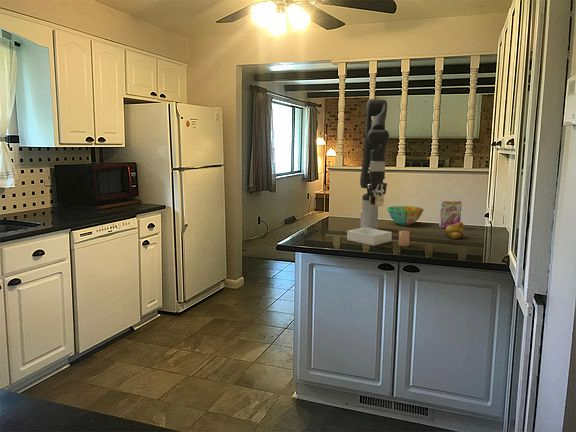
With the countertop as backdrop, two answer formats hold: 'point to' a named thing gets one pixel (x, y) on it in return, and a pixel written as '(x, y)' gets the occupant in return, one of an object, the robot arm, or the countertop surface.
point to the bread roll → (455, 230)
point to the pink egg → (403, 238)
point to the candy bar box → (449, 213)
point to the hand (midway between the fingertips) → (376, 203)
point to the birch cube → (377, 201)
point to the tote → (369, 236)
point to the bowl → (405, 214)
